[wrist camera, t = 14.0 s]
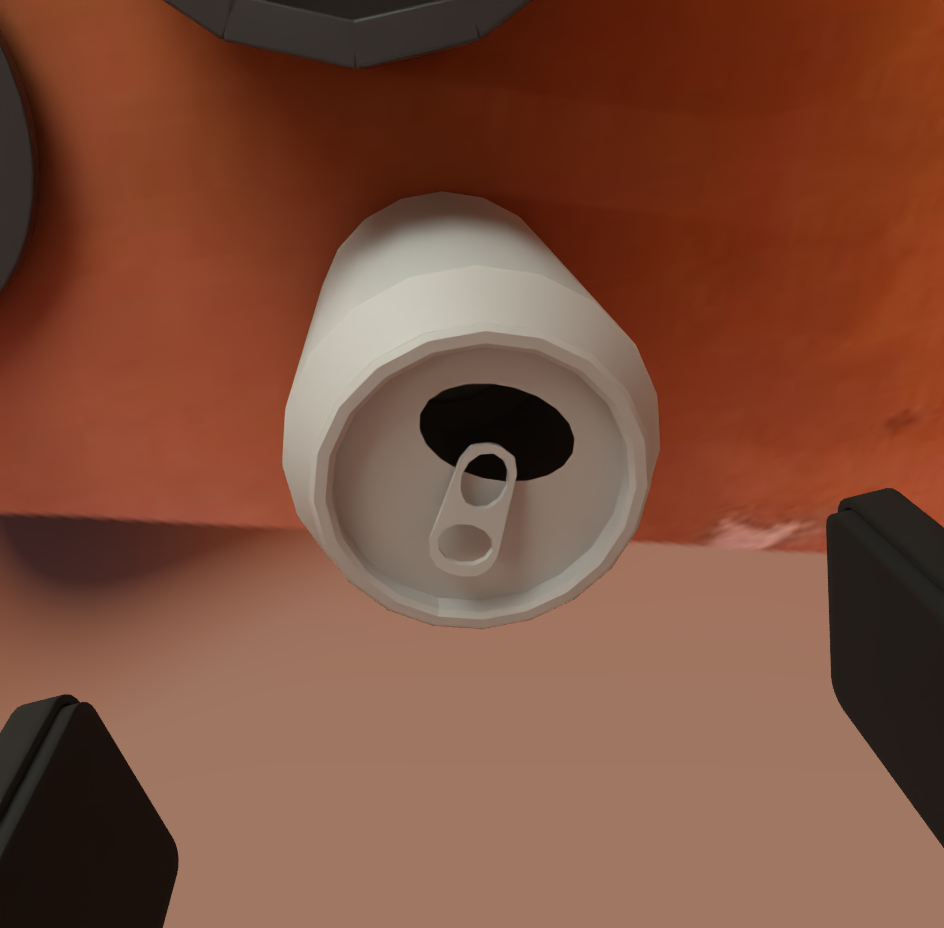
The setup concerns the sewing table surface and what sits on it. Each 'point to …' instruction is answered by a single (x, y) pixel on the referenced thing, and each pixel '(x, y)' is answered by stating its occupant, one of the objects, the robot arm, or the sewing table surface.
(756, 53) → the sewing table surface
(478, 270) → the can
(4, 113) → the pot lid
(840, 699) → the robot arm
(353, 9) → the pot
